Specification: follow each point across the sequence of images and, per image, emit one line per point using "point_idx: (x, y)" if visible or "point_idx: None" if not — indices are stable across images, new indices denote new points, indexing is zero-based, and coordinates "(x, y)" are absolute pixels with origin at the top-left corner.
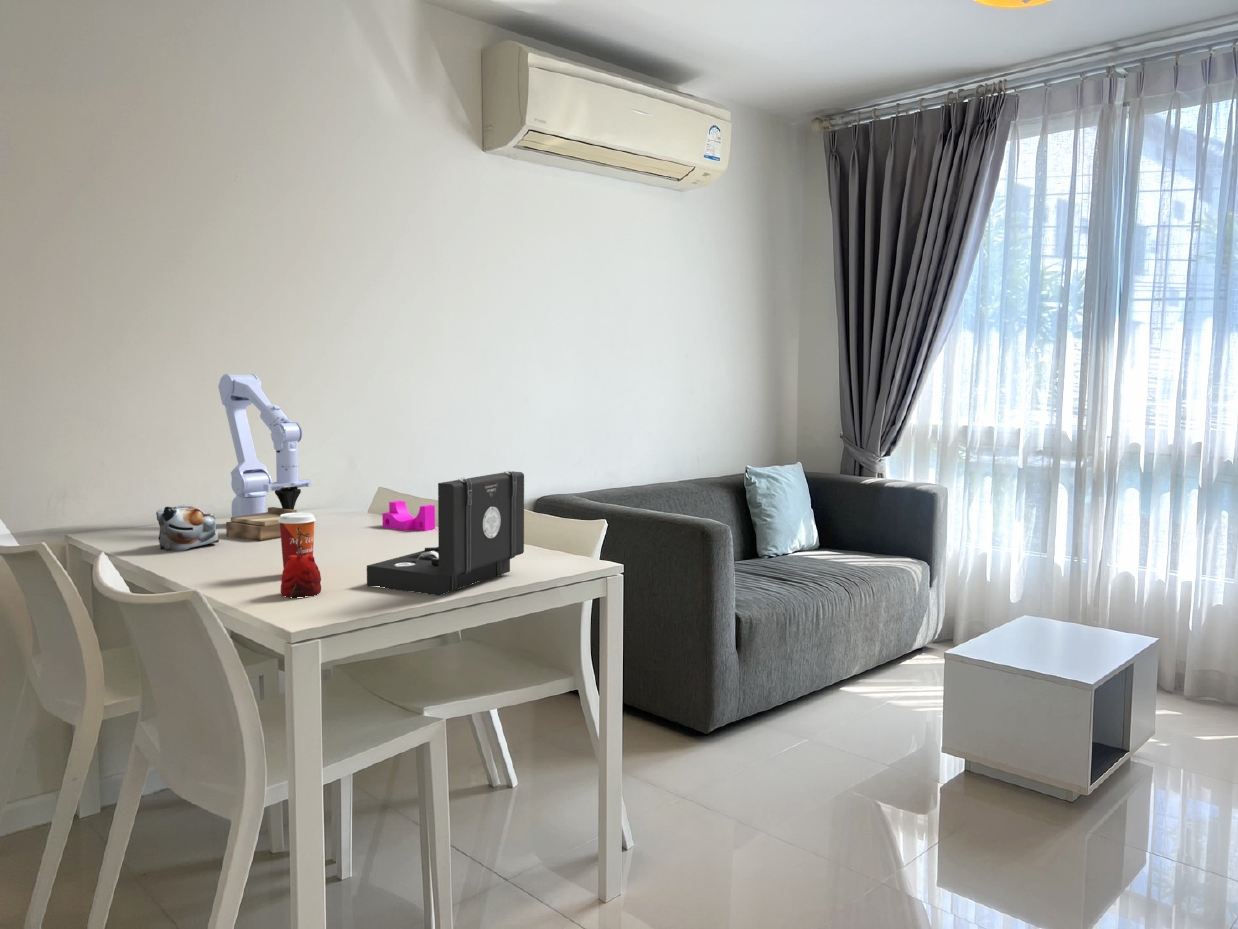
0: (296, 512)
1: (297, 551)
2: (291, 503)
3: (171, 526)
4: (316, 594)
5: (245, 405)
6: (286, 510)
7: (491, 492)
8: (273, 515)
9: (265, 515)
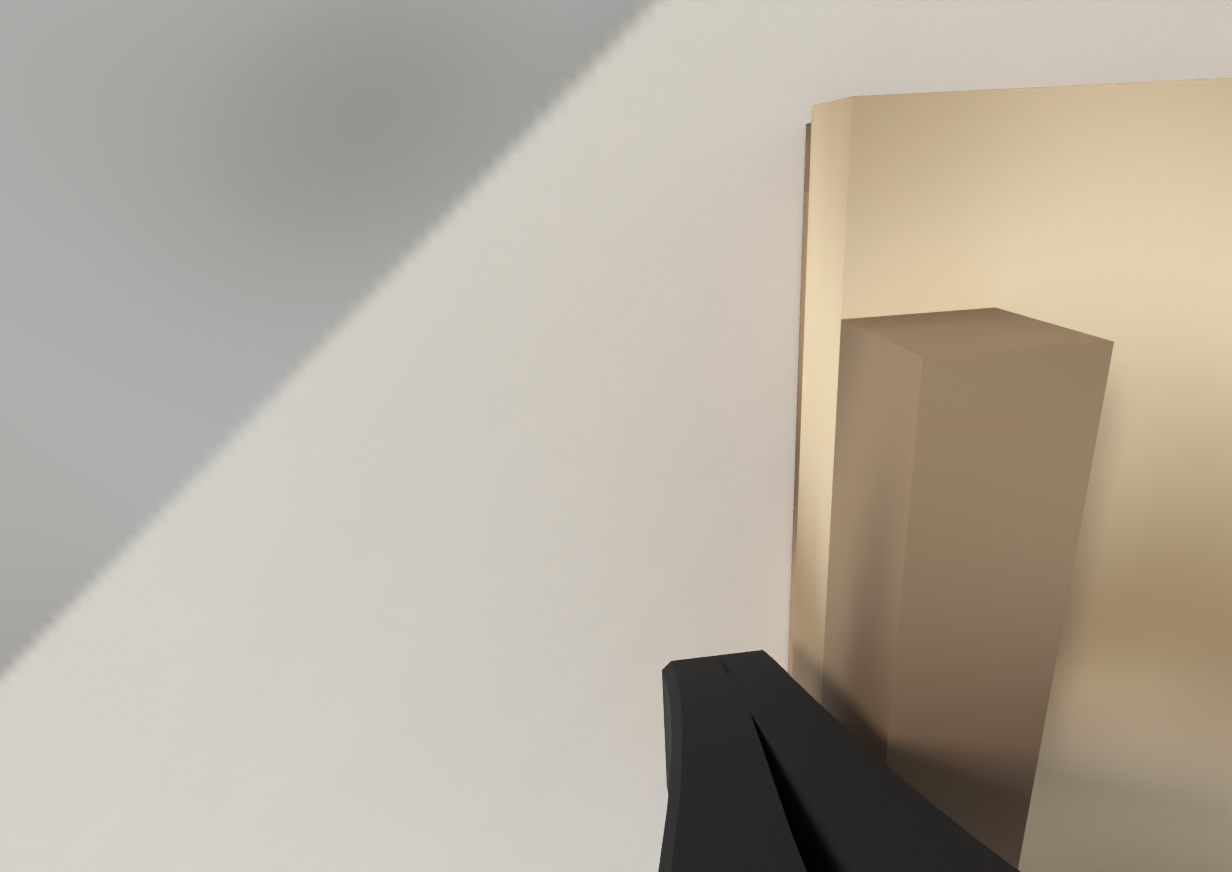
0: (906, 334)
1: None
2: (845, 859)
3: None
4: None
5: None
6: (1062, 581)
7: None
8: (1059, 737)
9: (1126, 826)
